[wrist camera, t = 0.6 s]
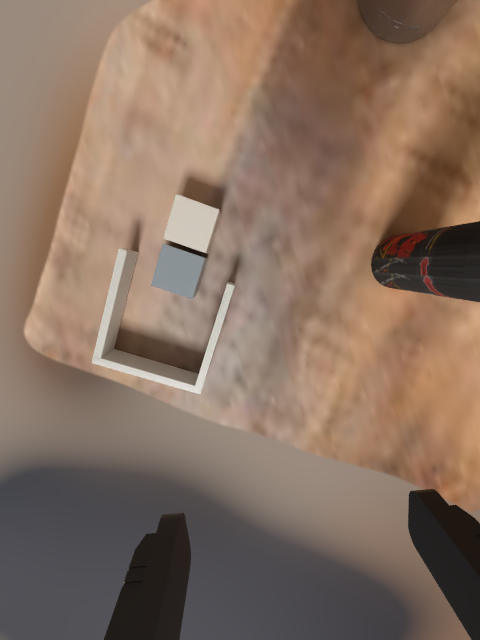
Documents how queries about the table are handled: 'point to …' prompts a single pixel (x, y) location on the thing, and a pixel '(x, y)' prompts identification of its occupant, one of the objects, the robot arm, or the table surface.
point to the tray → (137, 364)
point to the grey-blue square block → (178, 271)
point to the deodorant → (432, 262)
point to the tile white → (192, 224)
